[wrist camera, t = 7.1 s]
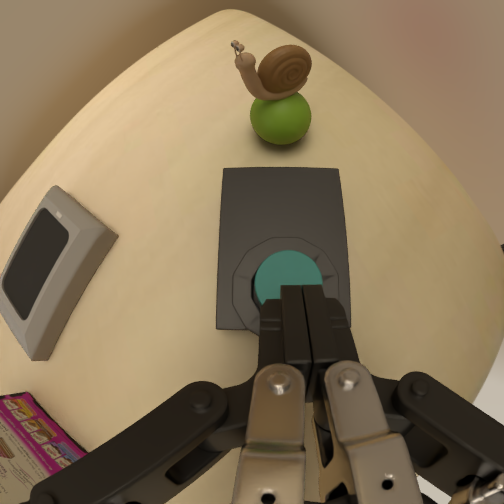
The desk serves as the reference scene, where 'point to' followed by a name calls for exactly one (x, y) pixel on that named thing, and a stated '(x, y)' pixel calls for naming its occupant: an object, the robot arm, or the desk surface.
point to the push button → (285, 273)
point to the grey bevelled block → (51, 270)
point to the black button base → (278, 234)
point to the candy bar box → (30, 447)
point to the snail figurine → (277, 92)
